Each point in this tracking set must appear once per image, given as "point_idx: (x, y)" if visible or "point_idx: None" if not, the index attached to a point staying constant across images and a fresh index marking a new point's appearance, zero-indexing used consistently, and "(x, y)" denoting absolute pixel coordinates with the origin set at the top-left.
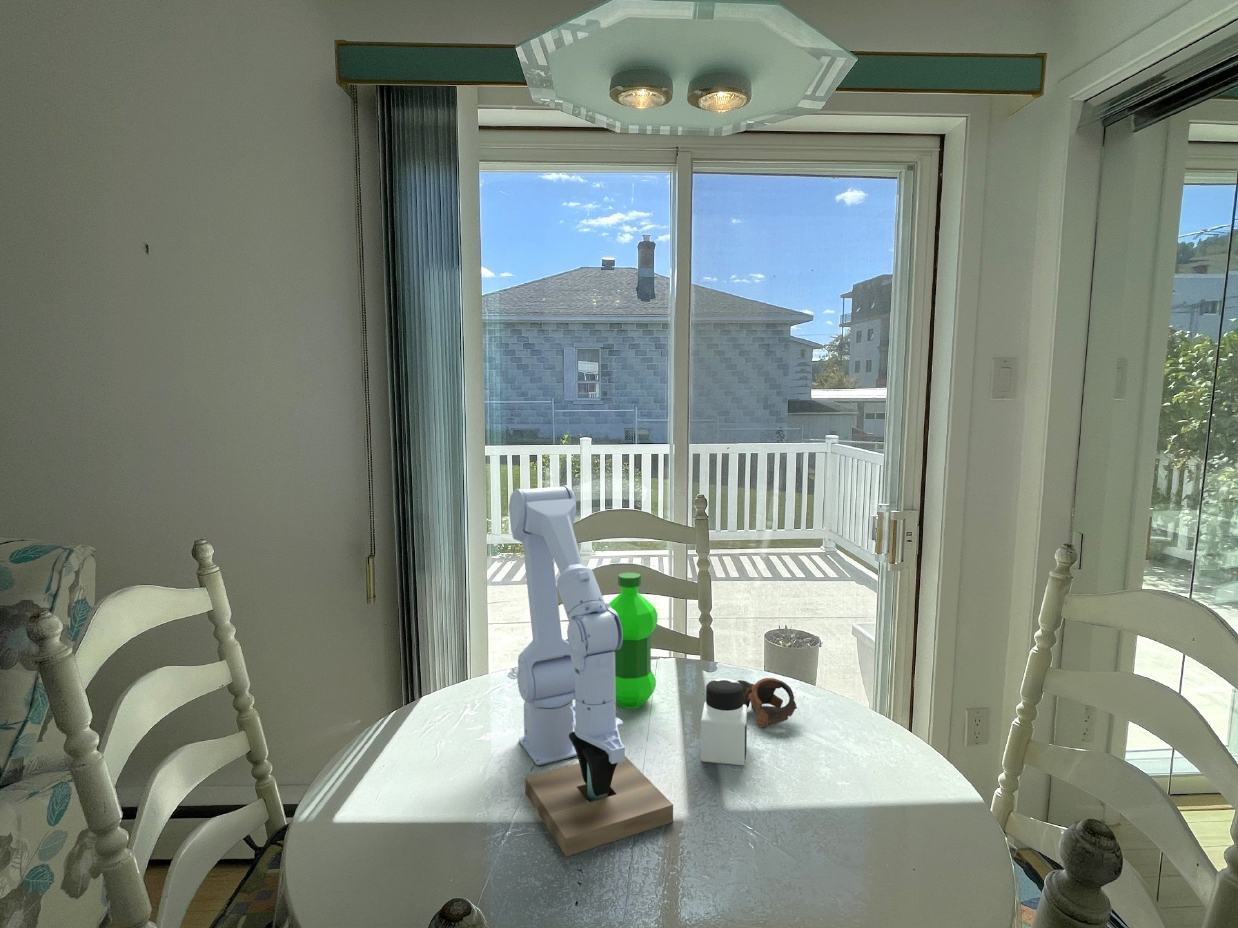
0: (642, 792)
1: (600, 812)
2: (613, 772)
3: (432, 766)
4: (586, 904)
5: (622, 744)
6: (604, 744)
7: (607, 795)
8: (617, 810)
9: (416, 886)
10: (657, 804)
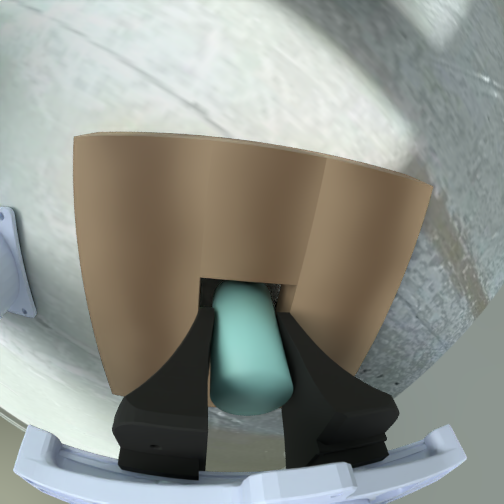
0: (343, 218)
1: (328, 345)
2: (323, 352)
3: (29, 401)
4: (406, 376)
5: (453, 464)
6: (401, 496)
7: (267, 293)
8: (352, 315)
9: (253, 463)
10: (408, 220)
